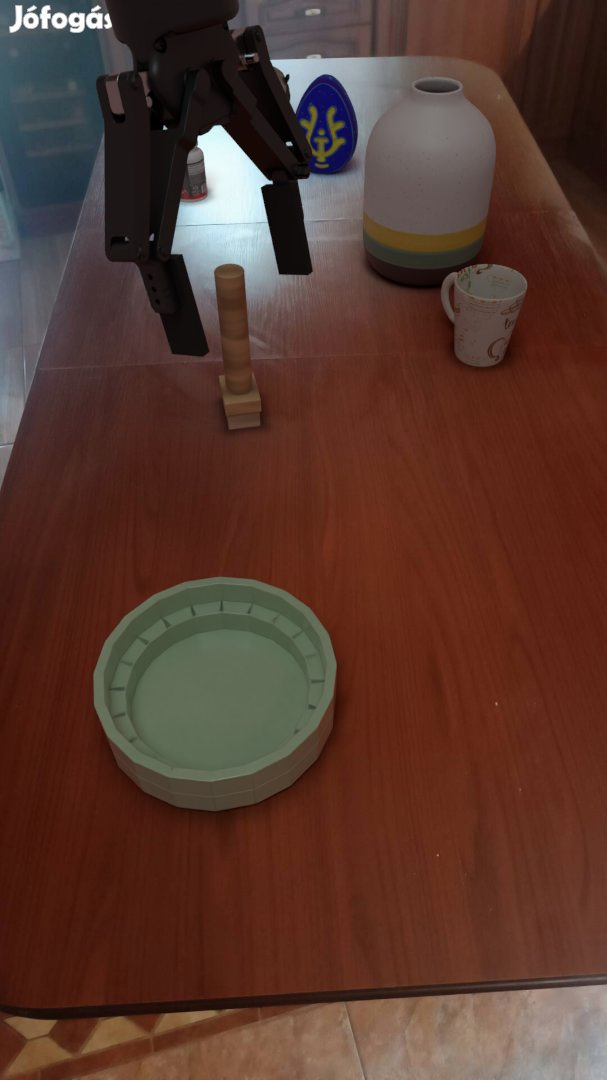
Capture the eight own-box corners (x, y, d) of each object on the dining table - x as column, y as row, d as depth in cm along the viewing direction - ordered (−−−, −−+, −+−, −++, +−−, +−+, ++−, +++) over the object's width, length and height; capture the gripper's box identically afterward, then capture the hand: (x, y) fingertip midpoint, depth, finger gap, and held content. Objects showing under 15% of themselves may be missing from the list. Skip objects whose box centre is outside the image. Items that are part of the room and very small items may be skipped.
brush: (221, 403, 94) (205, 259, 81) (255, 399, 95) (245, 255, 81) (227, 433, 90) (212, 286, 77) (262, 428, 91) (253, 282, 78)
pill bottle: (169, 197, 133) (160, 135, 126) (194, 188, 136) (187, 126, 129) (188, 207, 130) (181, 145, 123) (214, 197, 133) (208, 135, 126)
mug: (476, 382, 96) (488, 307, 89) (410, 335, 104) (417, 262, 96) (526, 359, 99) (542, 285, 92) (459, 315, 107) (469, 243, 99)
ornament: (289, 178, 138) (286, 82, 127) (299, 158, 144) (297, 64, 133) (353, 182, 136) (355, 85, 125) (360, 161, 142) (363, 67, 132)
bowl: (104, 635, 71) (91, 595, 67) (310, 602, 73) (309, 562, 69) (110, 836, 58) (95, 803, 54) (358, 789, 61) (361, 753, 57)
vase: (336, 268, 116) (339, 86, 98) (411, 229, 124) (426, 54, 106) (428, 311, 107) (449, 120, 90) (502, 266, 116) (534, 83, 98)
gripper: (47, -26, 35) (182, 400, 48) (326, -89, 51) (372, 246, 63) (-57, 0, 39) (93, 388, 52) (232, -66, 54) (293, 245, 67)
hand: (247, 310), depth 58 cm, fingers open, 13 cm apart
